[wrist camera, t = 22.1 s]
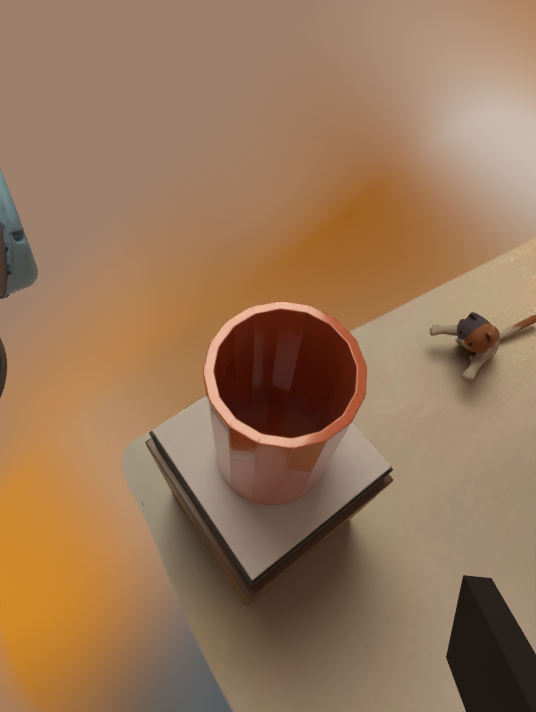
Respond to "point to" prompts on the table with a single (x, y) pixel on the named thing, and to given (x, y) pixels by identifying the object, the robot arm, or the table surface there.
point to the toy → (479, 338)
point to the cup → (281, 398)
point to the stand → (220, 553)
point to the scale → (256, 521)
